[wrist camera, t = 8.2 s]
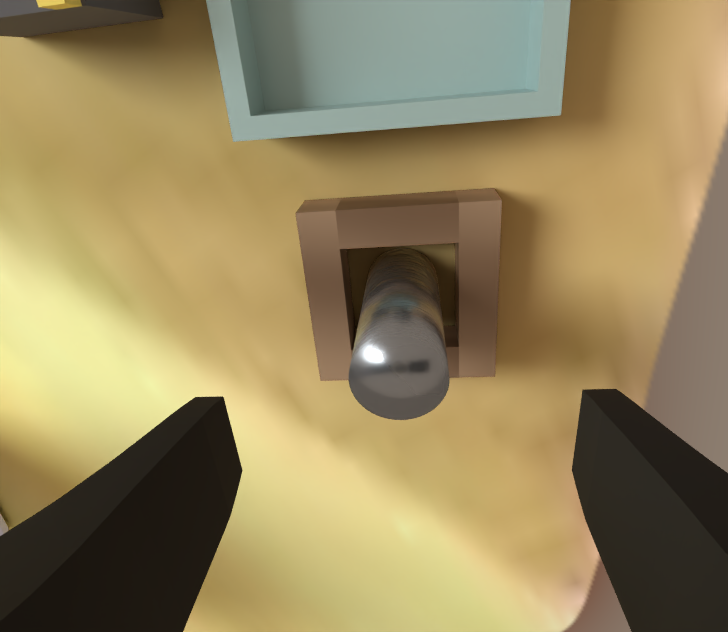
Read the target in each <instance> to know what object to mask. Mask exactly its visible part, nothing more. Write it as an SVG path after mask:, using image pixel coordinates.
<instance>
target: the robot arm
mask: <svg viewBox="0 0 728 632" xmlns="http://www.w3.org/2000/svg"><path fill="white" fill-rule="evenodd" d="M572 472H573V476H574V480H575V484H576V488H577V491H578V495H579V499H580V502H581V506H582V509H583V513H584V516H585V520H586V522H587V525H588V527H589V530H590V532H591V535H592V537H593V540H594V542H595V544H596V547H597V549H598V552H599V554H600V557H601V559H602V562H603V564H604V566H605V569H606V571H607V574H608V576H609V578H610V580H611V583H612V585H613V588H614V590H615V593H616V595H617V598H618V600H619V602H620V605H621V607H622V610H623V612H624V614H625V617H626V619H627V621H628V624H629V626H630V629H631V631H632V632H728V473H727V472H725V471H724V470H723V469H721V468H720V467H718V466H717V465H716V464H714V463H713V462H712V461H710V460H709V459H707V458H706V457H705V456H703V455H702V454H701V453H699V452H698V451H696V450H695V449H694V448H693V447H691V446H690V445H689V444H687V443H686V442H685V441H683V440H682V439H681V438H679V437H678V436H677V435H675V434H674V433H673V432H672V431H670V430H669V429H668V428H666V427H665V426H664V425H663V424H661V423H660V422H659V421H657V420H656V419H655V418H653V417H652V416H651V415H650V414H648V413H647V412H646V411H645V410H643V409H642V408H641V407H639V406H638V405H637V404H636V403H634V402H633V401H632V400H630V399H629V398H628V397H626V396H625V395H624V394H622V393H621V392H620V391H618V390H617V389H592V390H583V391H582V399H581V406H580V414H579V421H578V429H577V436H576V443H575V451H574V458H573V466H572ZM241 474H242V467H241V463H240V459H239V456H238V452H237V448H236V444H235V440H234V436H233V432H232V428H231V425H230V421H229V417H228V413H227V409H226V405H225V401H224V397H195V398H194V399H192V400H191V401H189V402H188V403H186V404H185V405H184V406H182V407H181V408H179V409H178V410H177V411H175V412H174V413H173V414H172V415H170V416H169V417H168V418H166V419H165V420H164V421H163V422H161V423H160V424H159V425H157V426H156V427H155V428H154V429H152V430H151V431H150V432H148V433H147V434H146V435H145V436H143V437H142V438H141V439H139V440H138V441H137V442H136V443H134V444H133V445H132V446H130V447H129V448H128V449H126V450H125V451H124V452H123V453H121V454H120V455H119V456H117V457H116V458H115V459H113V460H112V461H111V462H109V463H108V464H107V465H105V466H104V467H103V468H101V469H100V470H98V471H97V472H96V473H94V474H93V475H91V476H90V477H89V478H87V479H86V480H84V481H83V482H82V483H80V484H79V485H77V486H76V487H75V488H73V489H72V490H70V491H69V492H68V493H66V494H65V495H63V496H62V497H61V498H59V499H58V500H56V501H55V502H53V503H52V504H50V505H49V506H47V507H46V508H44V509H43V510H41V511H40V512H38V513H36V514H35V515H33V516H32V517H30V518H29V519H27V520H25V521H24V522H22V523H21V524H19V525H17V526H16V527H14V528H12V529H11V530H9V529H8V526H7V524H6V522H5V520H4V519H3V517H2V515H1V514H0V632H183V631H184V628H185V625H186V623H187V620H188V618H189V615H190V613H191V611H192V608H193V606H194V603H195V601H196V599H197V596H198V594H199V591H200V589H201V587H202V584H203V582H204V579H205V577H206V574H207V572H208V570H209V567H210V565H211V562H212V560H213V558H214V555H215V553H216V550H217V548H218V545H219V543H220V541H221V538H222V536H223V533H224V531H225V528H226V526H227V523H228V521H229V518H230V515H231V512H232V508H233V505H234V501H235V498H236V494H237V490H238V486H239V482H240V478H241ZM8 530H9V531H8Z"/></svg>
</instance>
